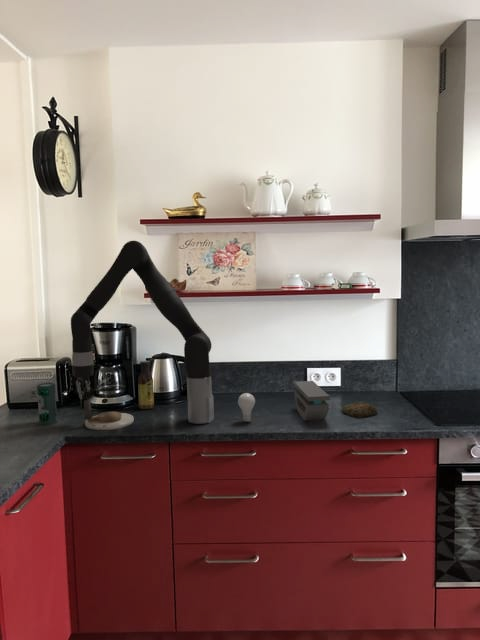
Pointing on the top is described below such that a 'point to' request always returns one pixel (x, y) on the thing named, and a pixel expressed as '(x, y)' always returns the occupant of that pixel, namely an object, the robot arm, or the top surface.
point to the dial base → (111, 423)
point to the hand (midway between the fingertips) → (84, 407)
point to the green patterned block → (47, 403)
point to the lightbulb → (246, 405)
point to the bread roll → (359, 410)
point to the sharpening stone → (311, 401)
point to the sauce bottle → (145, 386)
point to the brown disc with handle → (101, 417)
